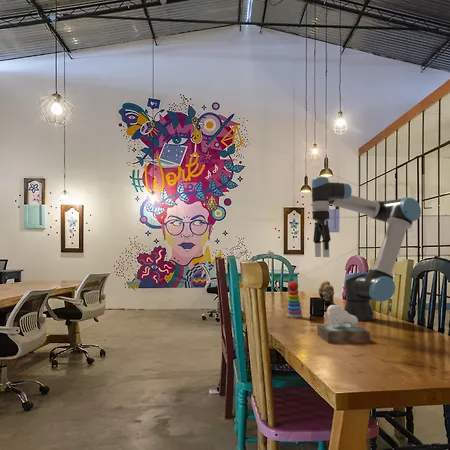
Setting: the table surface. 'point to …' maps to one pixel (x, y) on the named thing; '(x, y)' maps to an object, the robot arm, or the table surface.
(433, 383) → the table surface
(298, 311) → the stacking toy
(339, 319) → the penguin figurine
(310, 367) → the table surface
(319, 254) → the robot arm
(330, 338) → the square wooden tray
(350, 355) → the table surface
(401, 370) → the table surface
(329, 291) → the owl figurine
